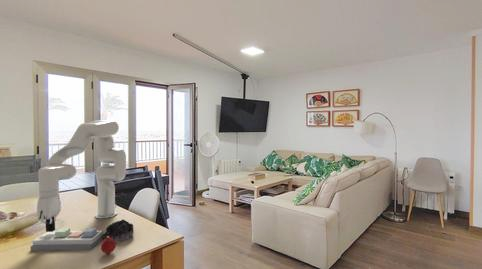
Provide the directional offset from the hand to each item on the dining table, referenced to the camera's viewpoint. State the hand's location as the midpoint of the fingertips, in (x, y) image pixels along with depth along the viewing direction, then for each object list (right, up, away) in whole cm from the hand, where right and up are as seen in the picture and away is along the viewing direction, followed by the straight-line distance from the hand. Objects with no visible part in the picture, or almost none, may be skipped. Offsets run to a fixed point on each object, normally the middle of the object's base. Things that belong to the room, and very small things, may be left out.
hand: (50, 230), depth 120 cm
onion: (+33, -7, -10) cm, 35 cm away
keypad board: (+9, -6, 0) cm, 11 cm away
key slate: (+18, -2, 0) cm, 19 cm away
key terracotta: (+12, -4, 0) cm, 13 cm away
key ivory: (0, -4, -1) cm, 4 cm away
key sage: (+6, -2, 0) cm, 6 cm away
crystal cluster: (+29, -6, +8) cm, 31 cm away
